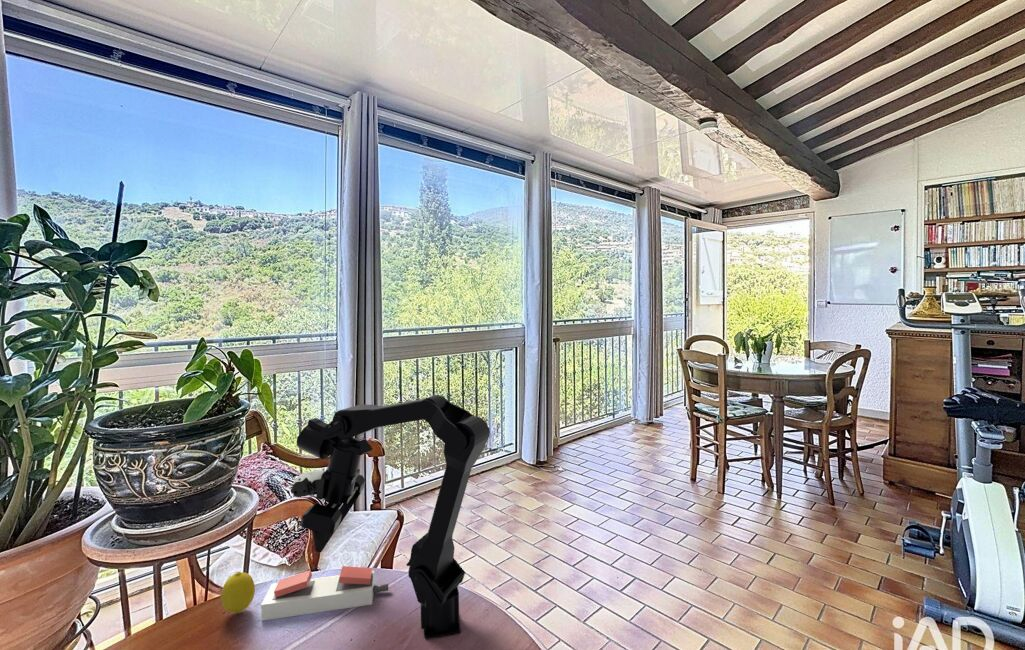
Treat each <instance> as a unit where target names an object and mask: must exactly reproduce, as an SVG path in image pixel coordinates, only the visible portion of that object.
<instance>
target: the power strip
mask: <svg viewBox="0 0 1025 650" xmlns="http://www.w3.org/2000/svg"><path fill="white" fill-rule="evenodd" d="M339 578H340V574H337V575H329V576H322V577H315V578H311V580H310V583H309V585H308V587H306V588H303V589H300V590H297V591H294V592H291V593H288V594H285V595H282V596H279V597H276V598H275V594H274V590H275V588H276V586H277V584H278V582H276V583H275V582H274V583H271V584H270V587H269V588H268V591H267V593H266V595H265V597H264V598H263V600H262V602H261V604H260V608H261V609H260V610H261V620H260V621H262V622H263V621H267V620H276V619H281V618H288V617H294V616H295V617H296V616H303V615H309V614H316V613H323V612H329V611H337V610H344V609H351V608H356V607H357V608H358V607H364V606H370V605H373V599H374V594H375V593H380V592H388V591H389V583H384V584H377V585H375V570H372V573H371V579H370V584H369V585H366V584H350V583H339Z"/></svg>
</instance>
